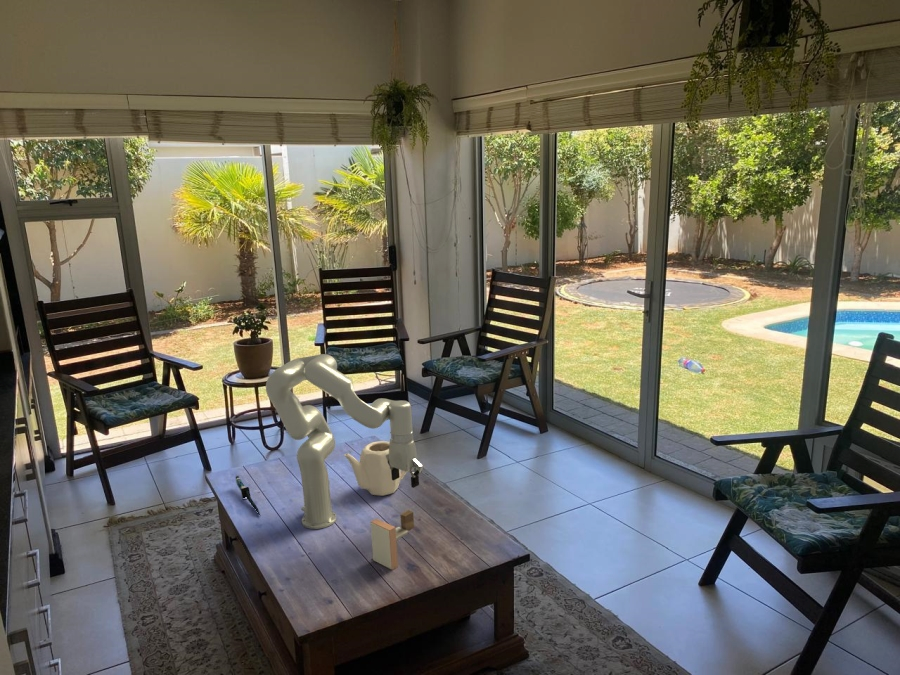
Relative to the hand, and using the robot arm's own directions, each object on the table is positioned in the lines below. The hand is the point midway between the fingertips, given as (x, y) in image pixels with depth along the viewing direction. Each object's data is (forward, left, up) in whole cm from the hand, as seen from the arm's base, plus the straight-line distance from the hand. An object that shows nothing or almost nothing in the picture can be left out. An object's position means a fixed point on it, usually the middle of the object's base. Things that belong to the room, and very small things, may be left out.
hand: (405, 482), depth 235 cm
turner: (0, -6, -18) cm, 19 cm away
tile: (+10, -20, -18) cm, 29 cm away
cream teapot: (-30, +14, -18) cm, 38 cm away
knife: (-65, -24, -18) cm, 71 cm away
